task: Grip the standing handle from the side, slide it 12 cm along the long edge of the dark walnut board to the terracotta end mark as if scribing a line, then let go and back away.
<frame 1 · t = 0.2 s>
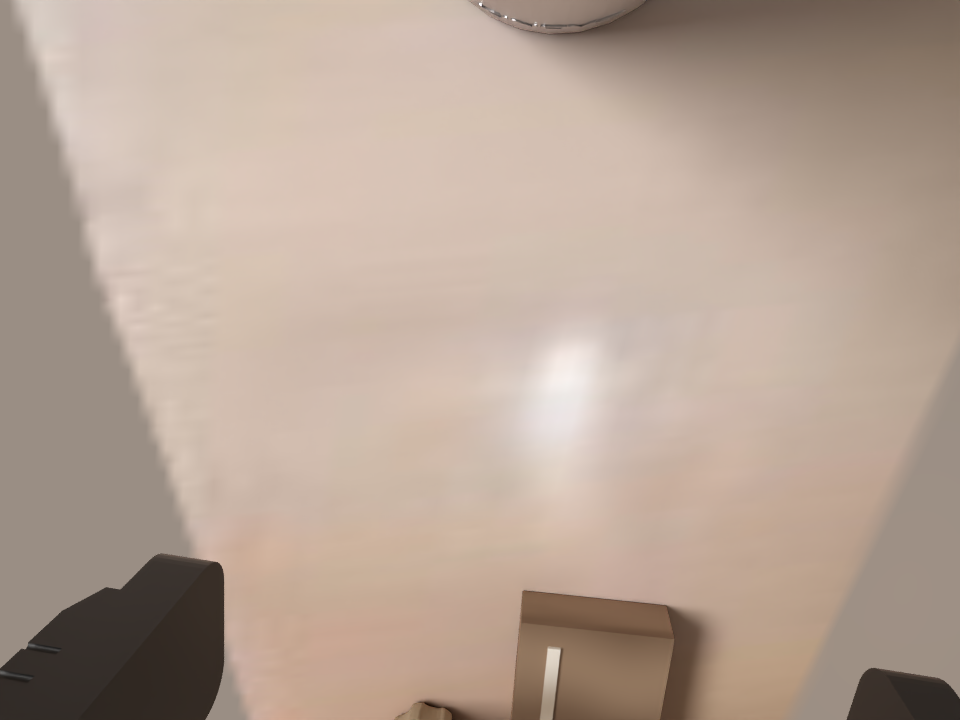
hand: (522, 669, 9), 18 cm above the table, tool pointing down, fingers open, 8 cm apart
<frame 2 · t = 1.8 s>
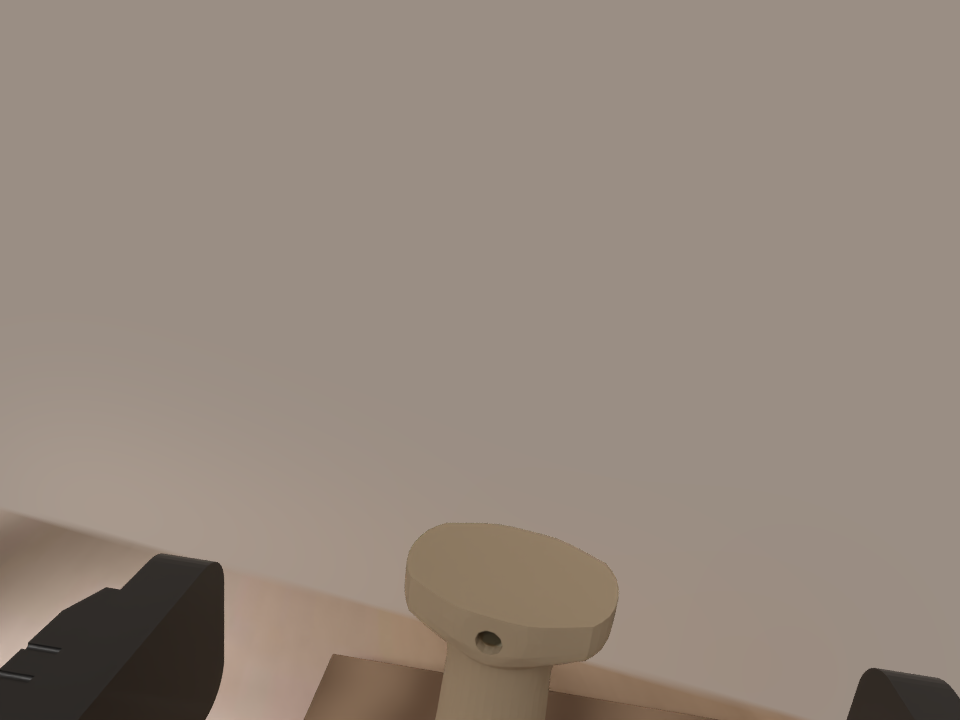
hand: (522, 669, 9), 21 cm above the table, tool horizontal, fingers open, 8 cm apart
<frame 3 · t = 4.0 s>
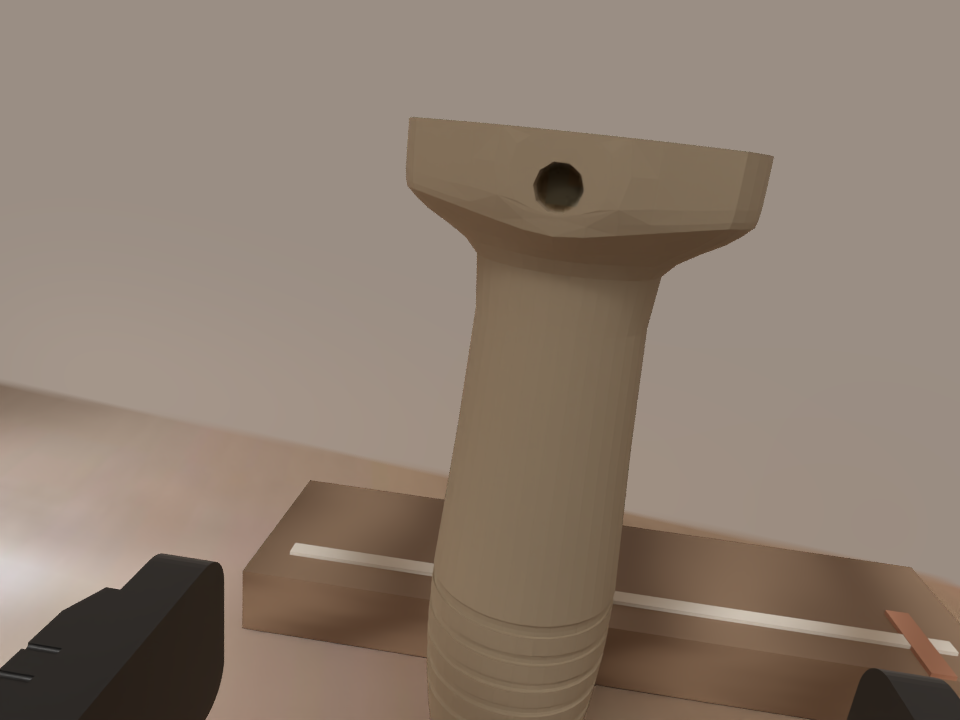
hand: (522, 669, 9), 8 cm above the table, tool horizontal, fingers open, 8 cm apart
walnut board: (599, 620, 23), on the table
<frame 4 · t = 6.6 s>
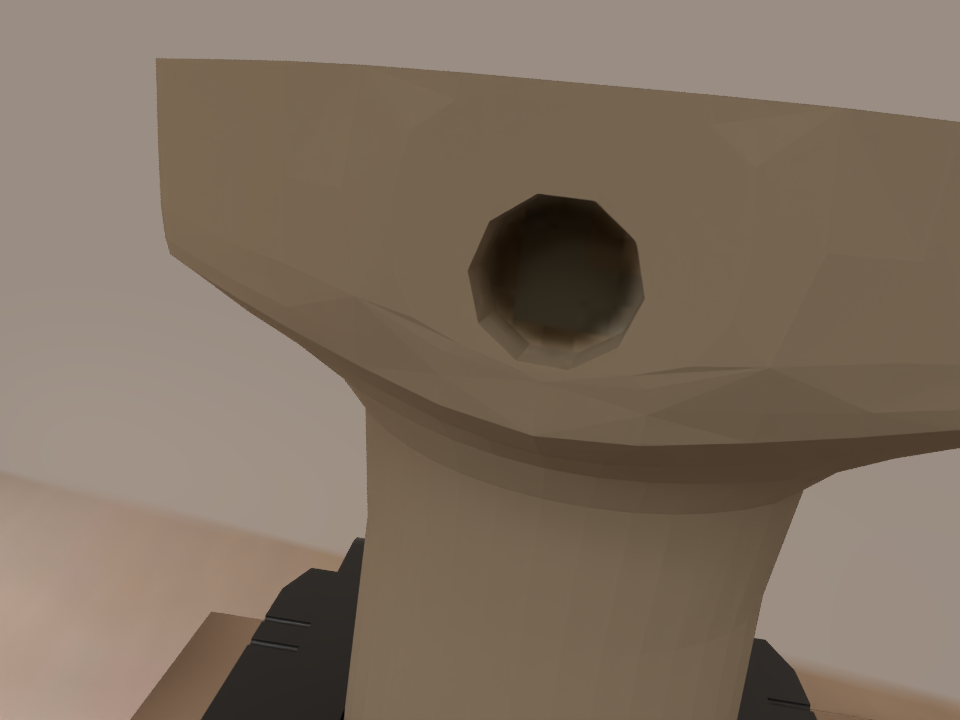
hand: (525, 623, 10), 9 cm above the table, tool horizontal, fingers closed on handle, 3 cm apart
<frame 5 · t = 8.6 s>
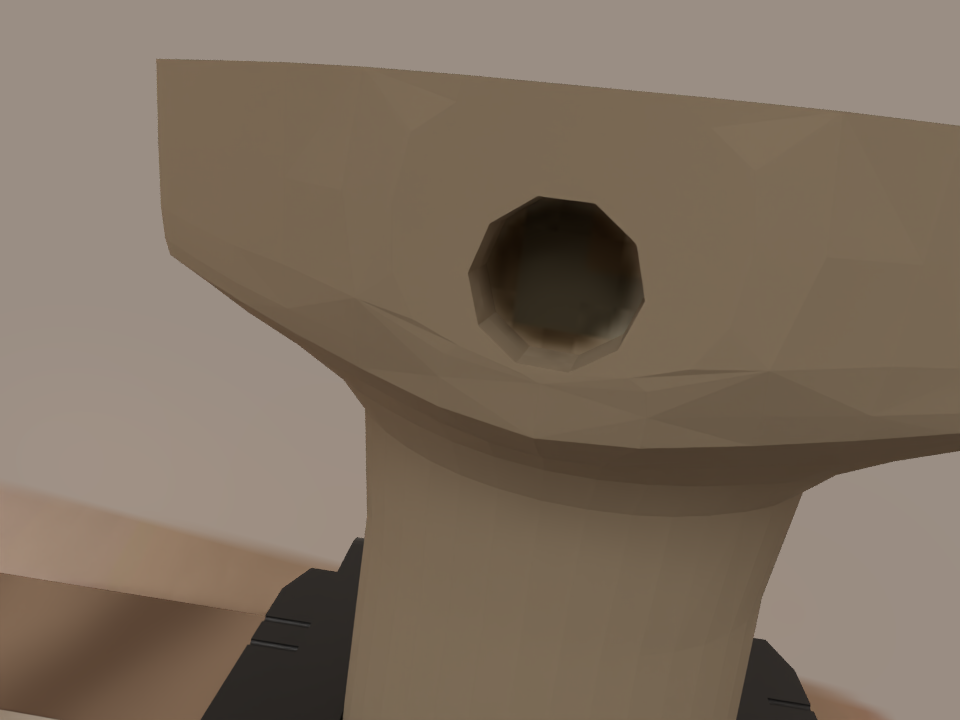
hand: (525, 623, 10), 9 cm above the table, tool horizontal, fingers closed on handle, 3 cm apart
when the fingers open (9 cm above the table, at t = 10.8 s): handle stays where it is, on the table.
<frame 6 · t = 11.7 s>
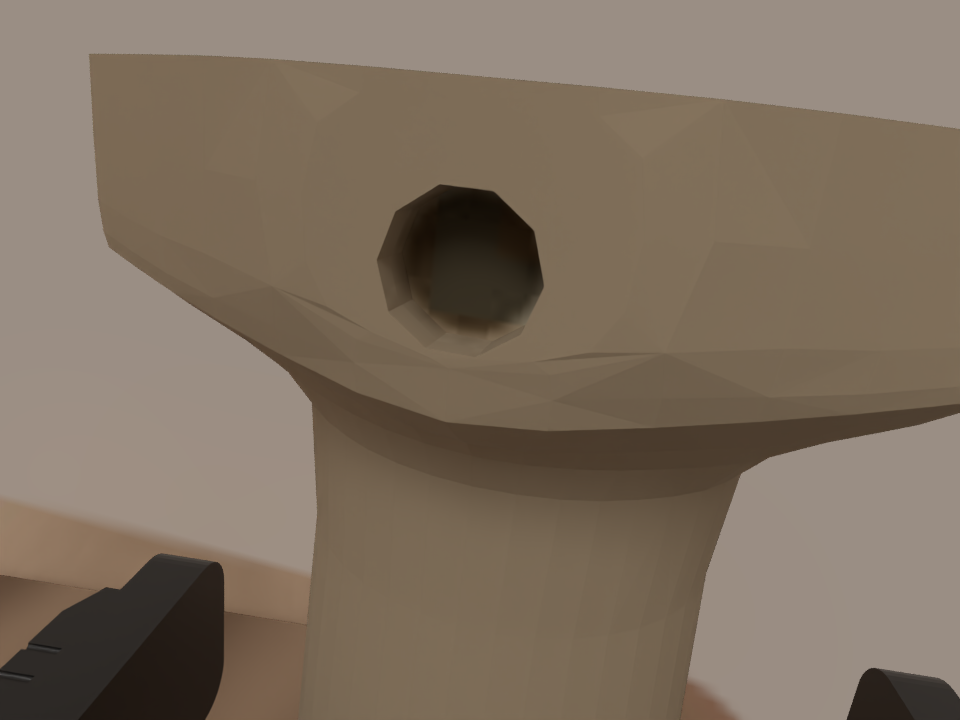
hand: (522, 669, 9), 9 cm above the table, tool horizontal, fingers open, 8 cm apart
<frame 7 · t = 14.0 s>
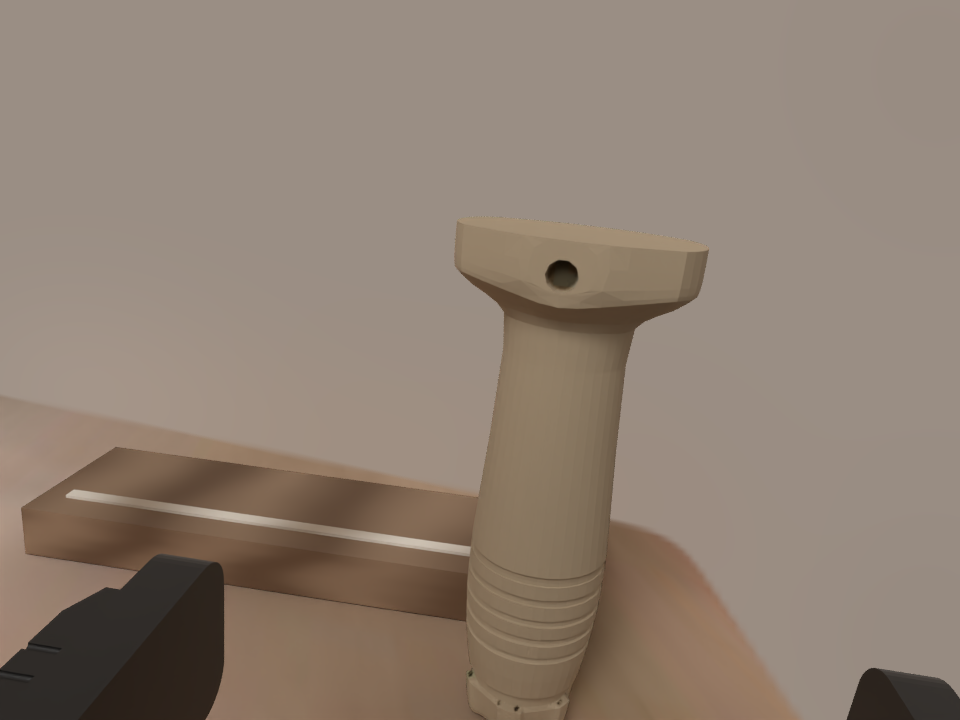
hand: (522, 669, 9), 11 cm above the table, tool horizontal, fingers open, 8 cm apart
walnut board: (322, 552, 29), on the table
handle: (516, 711, 22), on the table
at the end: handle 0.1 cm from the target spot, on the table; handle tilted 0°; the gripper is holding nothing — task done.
